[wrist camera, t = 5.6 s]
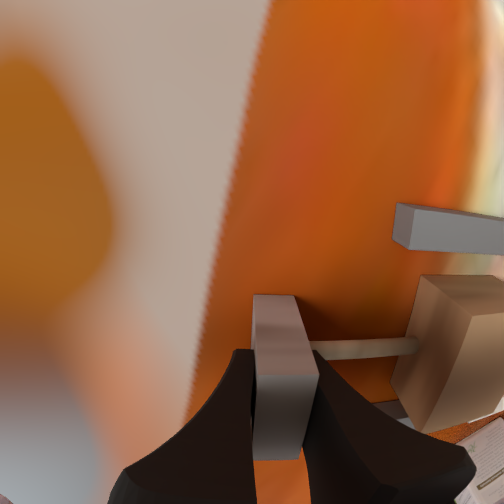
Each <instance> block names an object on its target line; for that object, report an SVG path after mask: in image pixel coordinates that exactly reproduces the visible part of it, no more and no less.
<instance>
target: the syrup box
mask: <svg viewBox="0 0 504 504" xmlns="http://www.w3.org/2000/svg"><path fill="white" fill-rule="evenodd" d="M456 445H459V446H463V447H464V448H465V449H466V450H467V452H468V454H469V455H470V457H471V459H472V460H473V462H474V464H475V465H476V467H477V471H476V474H475V476H474V478H473V480H472V481H471V482H470V483H469V485H468V486H467V487H466V488H465V489H464V490H463V491H462V492H461V493H460V494H459V495H458V496H457V497H456V498H455V499H454V501H455V503H456V504H493V503H495V502H497V501H499V500H500V499H502V498H504V420H503V419H502V418H501V417H499V418H497V419H495V420H494V421H492V422H491V423H489V424H487V425H486V426H484V427H482V428H481V429H479V430H478V431H476V432H474V433H473V434H471V435H470V436H468V437H466V438H465V439H463V440H461V441H460V442H458V443H456Z"/></svg>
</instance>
